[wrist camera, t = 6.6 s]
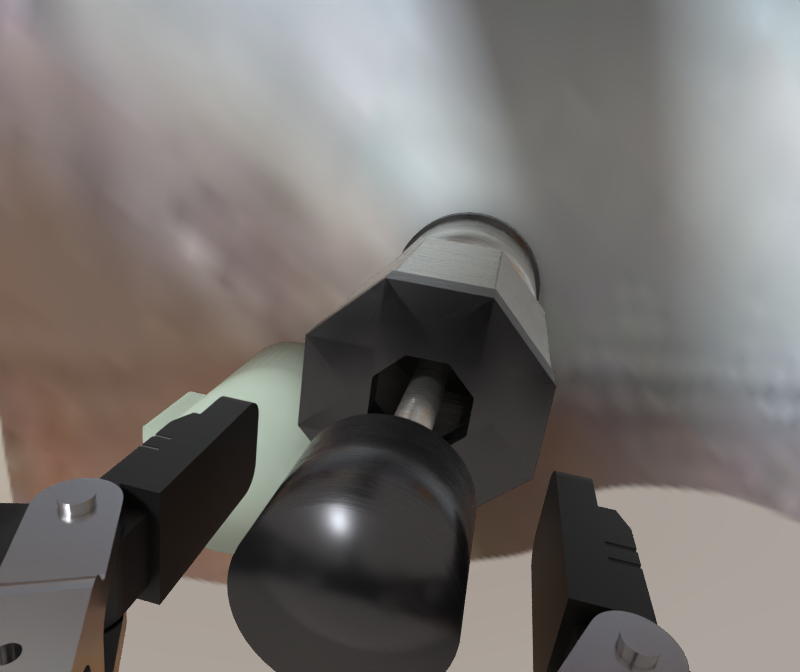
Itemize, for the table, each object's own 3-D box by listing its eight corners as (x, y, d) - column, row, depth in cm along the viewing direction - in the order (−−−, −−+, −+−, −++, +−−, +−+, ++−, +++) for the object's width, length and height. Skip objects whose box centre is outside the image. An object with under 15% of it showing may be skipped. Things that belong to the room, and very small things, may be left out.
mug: (217, 325, 32) (108, 392, 24) (359, 355, 31) (298, 435, 22) (214, 429, 34) (113, 524, 26) (347, 460, 33) (287, 570, 25)
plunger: (407, 274, 21) (232, 481, 8) (507, 293, 21) (482, 541, 8) (394, 366, 22) (222, 667, 10) (488, 385, 22) (439, 731, 9)
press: (408, 201, 28) (307, 257, 15) (553, 225, 27) (582, 308, 14) (384, 369, 31) (282, 539, 18) (514, 396, 30) (507, 597, 17)
